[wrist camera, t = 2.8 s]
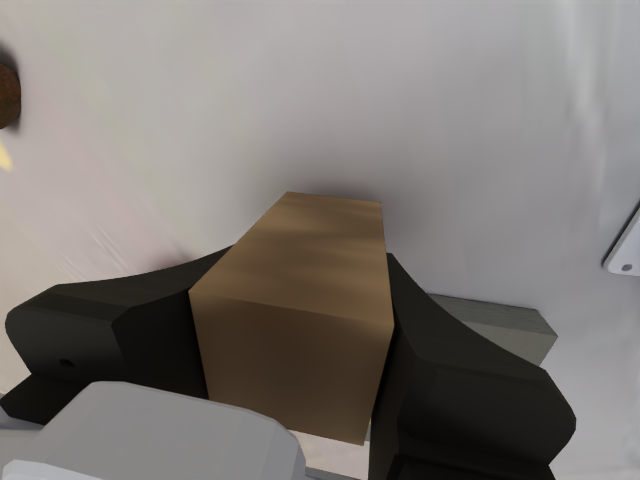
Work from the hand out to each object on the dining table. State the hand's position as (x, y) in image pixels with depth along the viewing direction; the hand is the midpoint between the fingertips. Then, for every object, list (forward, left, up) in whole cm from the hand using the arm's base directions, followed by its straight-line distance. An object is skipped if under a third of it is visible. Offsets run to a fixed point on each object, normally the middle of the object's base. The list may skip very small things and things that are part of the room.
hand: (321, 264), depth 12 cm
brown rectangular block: (0, 0, -3) cm, 2 cm away
